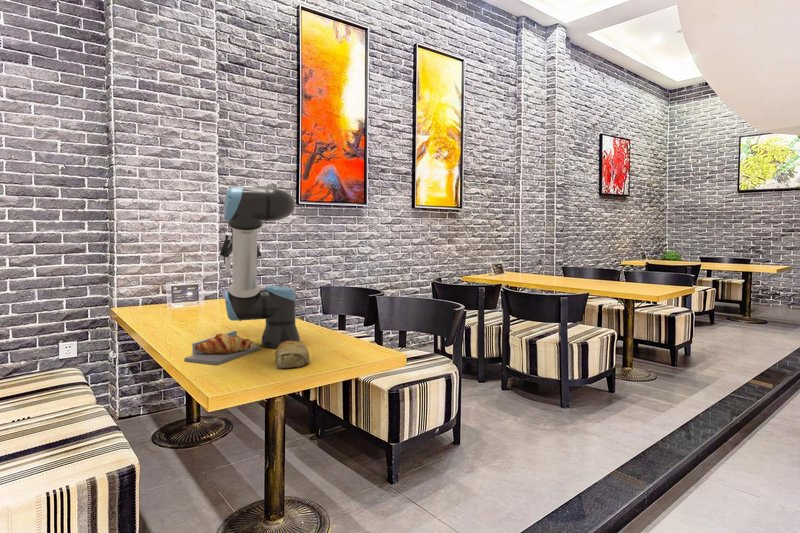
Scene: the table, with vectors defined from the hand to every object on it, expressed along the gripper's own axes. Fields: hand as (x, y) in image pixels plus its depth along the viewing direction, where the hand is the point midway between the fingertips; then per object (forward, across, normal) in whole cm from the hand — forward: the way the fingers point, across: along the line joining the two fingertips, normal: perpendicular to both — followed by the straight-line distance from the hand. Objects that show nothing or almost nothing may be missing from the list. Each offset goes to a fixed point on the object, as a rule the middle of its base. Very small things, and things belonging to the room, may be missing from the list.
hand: (240, 272), depth 220 cm
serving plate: (+27, -20, +37) cm, 50 cm away
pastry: (+27, -49, +38) cm, 68 cm away
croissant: (+26, -20, +36) cm, 49 cm away
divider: (+27, -9, +28) cm, 40 cm away
